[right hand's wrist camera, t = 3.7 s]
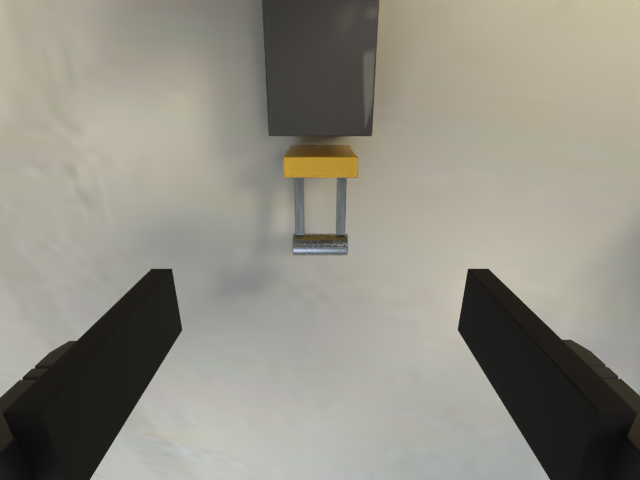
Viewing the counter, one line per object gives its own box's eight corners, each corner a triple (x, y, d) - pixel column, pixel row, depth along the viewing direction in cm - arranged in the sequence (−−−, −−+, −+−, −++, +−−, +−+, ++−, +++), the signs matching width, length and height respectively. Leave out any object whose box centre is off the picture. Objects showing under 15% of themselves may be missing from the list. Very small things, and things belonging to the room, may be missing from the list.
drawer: (346, 236, 28) (353, 270, 22) (293, 236, 28) (286, 270, 22) (356, -84, 21) (370, -159, 15) (284, -84, 21) (270, -159, 15)
